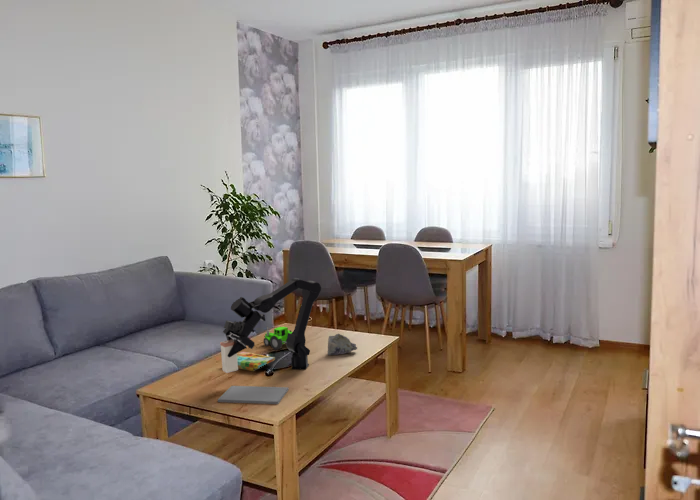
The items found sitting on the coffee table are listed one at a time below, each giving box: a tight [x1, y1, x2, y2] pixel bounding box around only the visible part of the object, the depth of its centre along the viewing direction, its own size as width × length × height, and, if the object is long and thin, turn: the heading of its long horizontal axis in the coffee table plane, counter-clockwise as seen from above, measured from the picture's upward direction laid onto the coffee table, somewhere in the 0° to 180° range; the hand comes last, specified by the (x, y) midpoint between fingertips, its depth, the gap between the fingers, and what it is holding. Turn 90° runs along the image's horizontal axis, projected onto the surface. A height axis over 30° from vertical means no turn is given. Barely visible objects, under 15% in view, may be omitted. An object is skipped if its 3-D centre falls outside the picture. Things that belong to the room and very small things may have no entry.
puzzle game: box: [237, 351, 276, 372], centre depth 251 cm, size 12×5×20 cm
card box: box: [219, 340, 239, 374], centre depth 226 cm, size 5×4×12 cm
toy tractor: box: [263, 326, 293, 351], centre depth 279 cm, size 11×16×10 cm
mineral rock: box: [327, 333, 358, 356], centre depth 263 cm, size 13×11×10 cm
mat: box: [217, 385, 289, 405], centre depth 217 cm, size 24×14×1 cm, turn 80°
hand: (226, 355), depth 225 cm, fingers closed on card box, 4 cm apart
